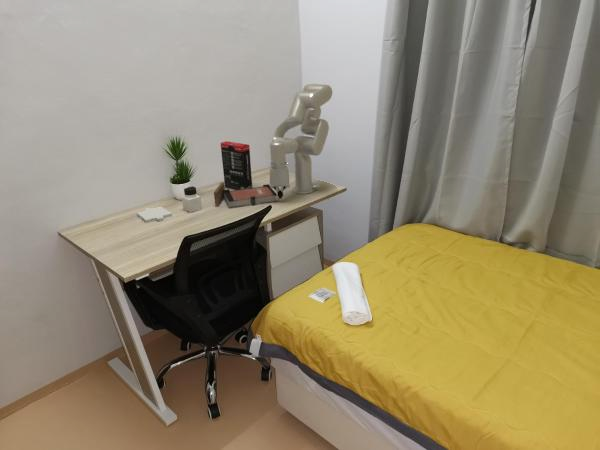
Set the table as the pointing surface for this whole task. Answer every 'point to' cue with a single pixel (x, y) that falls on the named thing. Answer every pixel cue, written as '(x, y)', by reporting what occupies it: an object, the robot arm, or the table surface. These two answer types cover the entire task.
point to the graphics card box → (236, 165)
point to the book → (249, 196)
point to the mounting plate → (154, 214)
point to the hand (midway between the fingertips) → (280, 197)
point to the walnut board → (219, 194)
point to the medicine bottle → (191, 200)
